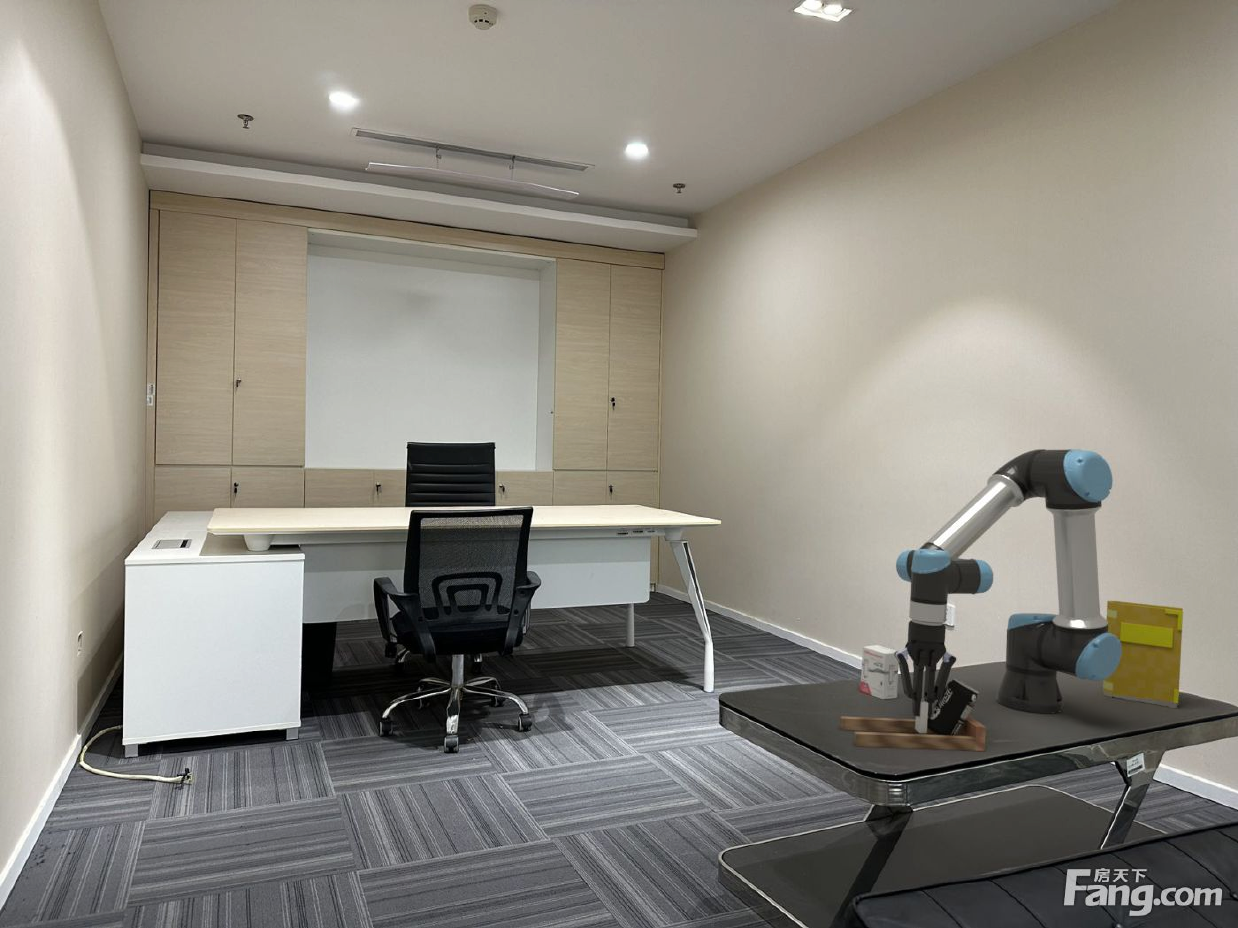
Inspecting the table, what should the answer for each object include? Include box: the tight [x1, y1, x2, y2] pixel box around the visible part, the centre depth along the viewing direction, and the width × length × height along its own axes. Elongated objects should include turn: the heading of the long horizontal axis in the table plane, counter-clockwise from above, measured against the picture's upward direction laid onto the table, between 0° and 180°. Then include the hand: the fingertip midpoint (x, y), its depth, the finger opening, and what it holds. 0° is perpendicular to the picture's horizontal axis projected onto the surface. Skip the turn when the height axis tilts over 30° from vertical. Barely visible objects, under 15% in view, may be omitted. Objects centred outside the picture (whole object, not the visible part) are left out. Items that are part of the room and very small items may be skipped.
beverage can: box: [927, 677, 979, 736], centre depth 184 cm, size 7×7×12 cm
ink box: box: [860, 644, 899, 700], centre depth 219 cm, size 9×5×12 cm, turn 27°
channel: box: [839, 714, 987, 752], centre depth 184 cm, size 27×12×5 cm, turn 91°
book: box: [1102, 600, 1184, 704], centre depth 226 cm, size 17×7×25 cm, turn 58°
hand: (920, 731), depth 184 cm, fingers closed
